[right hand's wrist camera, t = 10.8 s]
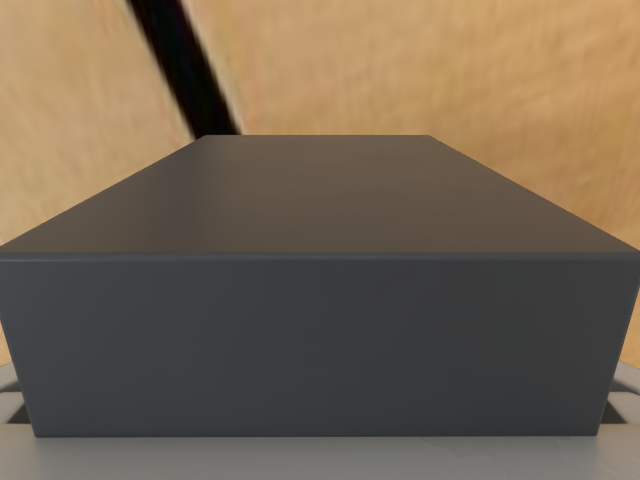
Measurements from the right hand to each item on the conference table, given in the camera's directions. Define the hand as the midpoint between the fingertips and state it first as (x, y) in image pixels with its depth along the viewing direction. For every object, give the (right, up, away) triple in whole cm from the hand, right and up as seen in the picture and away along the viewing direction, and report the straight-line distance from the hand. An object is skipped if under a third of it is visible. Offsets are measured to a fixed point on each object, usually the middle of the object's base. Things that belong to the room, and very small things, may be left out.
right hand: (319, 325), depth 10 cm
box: (0, -7, +6) cm, 10 cm away
